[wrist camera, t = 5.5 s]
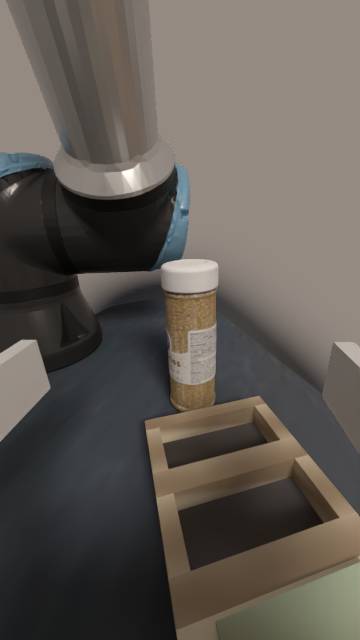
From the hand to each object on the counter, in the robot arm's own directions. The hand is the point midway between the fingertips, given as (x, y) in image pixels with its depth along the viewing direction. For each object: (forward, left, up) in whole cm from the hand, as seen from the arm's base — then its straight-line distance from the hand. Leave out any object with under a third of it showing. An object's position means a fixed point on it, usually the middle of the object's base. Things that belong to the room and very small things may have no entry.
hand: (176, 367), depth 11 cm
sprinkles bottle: (-9, +3, -11) cm, 15 cm away
